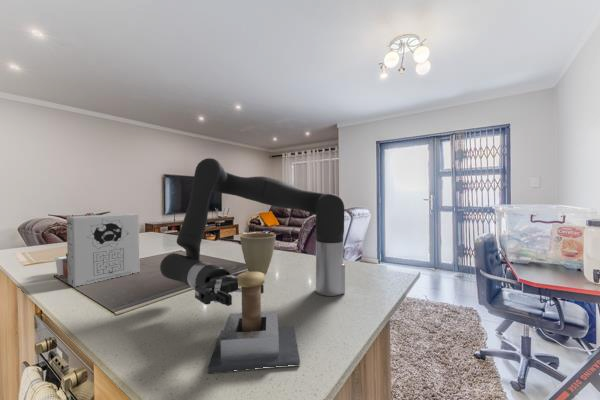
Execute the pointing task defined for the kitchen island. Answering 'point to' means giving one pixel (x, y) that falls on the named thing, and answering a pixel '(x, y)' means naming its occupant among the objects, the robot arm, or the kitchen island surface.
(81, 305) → the kitchen island surface
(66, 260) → the lighter
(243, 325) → the walnut pin
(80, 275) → the cereal box
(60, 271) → the shot glass
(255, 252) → the plant pot
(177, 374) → the kitchen island surface
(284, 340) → the steel receiver
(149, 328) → the kitchen island surface
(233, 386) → the kitchen island surface
